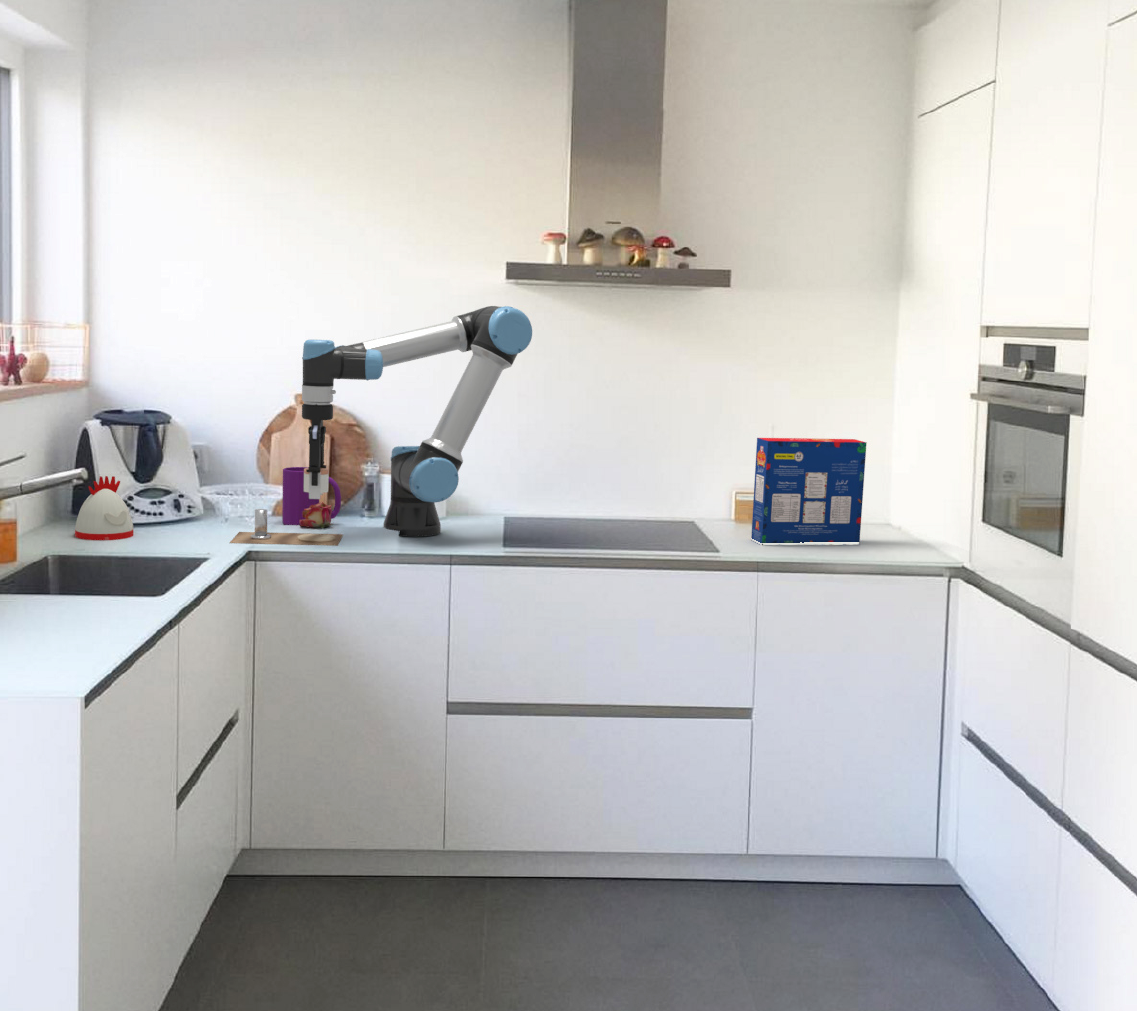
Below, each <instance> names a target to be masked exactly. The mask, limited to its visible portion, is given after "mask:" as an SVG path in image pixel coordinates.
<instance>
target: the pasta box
mask: <svg viewBox="0 0 1137 1011" xmlns="http://www.w3.org/2000/svg"><path fill="white" fill-rule="evenodd" d="M755 449H756V452H755V469H754V470H755V471H754V483H753V484H754V487H753V501H752V502H753V503H752V517H751V518H752V519H751V520H752V522H751V538H752V539H754V540H756V541H758V542H760V543H800V542H802V543H804V542H860V541H861V527H862V526H861V524H862V515H863V513H862V512H863V498H864V497H863V496H864V487H865V486H864V485H865V470H866V469H865V468H866V458H867V457H866V456H867V441H863V440H859V439H853V438H852V439H851V438H802V437H801V438H799V437H794V438H793V437H789V438H788V437H757V438H756V448H755ZM751 538H750V539H751Z"/></svg>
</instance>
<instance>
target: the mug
mask: <svg viewBox="0 0 1137 1011" xmlns="http://www.w3.org/2000/svg"><path fill="white" fill-rule="evenodd" d="M308 467H309V466H308ZM308 467H307V466H290V467H285V468H283V469H282V509H281V510H282V511H281V512H282V517H281V518H282V520H281V521H282V523H283V524H284V525H285V526H299V525H300V523H299V521H300V520H304V519H305V518H304V517H303V514H302V511H304V509H309V507H310V506H311V505H316V504H318V503H320V499H309V492H304V469H305V468H308ZM328 484H329V485H331V486H332V488H333V491H334V507H333V509H332V513H331V520H332V519H335V518H336V516H338V514H339V513H340V510H341V506H342V494H341V488H340V486H339V484H338V483H337V481H335V479H334V478H332V477H330V476H329V482H328Z"/></svg>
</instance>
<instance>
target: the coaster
mask: <svg viewBox="0 0 1137 1011" xmlns="http://www.w3.org/2000/svg"><path fill="white" fill-rule="evenodd" d="M328 534H329V533H311V534H303V535H299V536H298V540H300V541H304V542H329V541H333V540H335V537H334V536H333V535H328Z"/></svg>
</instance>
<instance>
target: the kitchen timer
mask: <svg viewBox="0 0 1137 1011" xmlns="http://www.w3.org/2000/svg"><path fill="white" fill-rule="evenodd" d="M120 484H121V480H117V482H116V476H111V479H110V480H109V477H108V476H107V475H105V476H104V478H103V476H99V479H98V482H97V481H95V480H93V486H94V489H93V488H92V486H90V485H88V490H89V493H90V495H89V496H88V497H87V498H86V499H85V500H84V502H83V503H82V505H81V507H80V510H79V512H78V515H77V518H76V520H75V528H74V538H77V539H80V540H85V541H87V540H88V541H116V540H117V541H118V540H124V539H129V538H131V537H134V523H133V522H134V521H133V520H132V516H131V514H130V510H129V507H128V506H127V504H126V503H125V501H124V499H123V498H122V497H121V496H119V494H118V493H117V492H118V489H119V486H120Z"/></svg>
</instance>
